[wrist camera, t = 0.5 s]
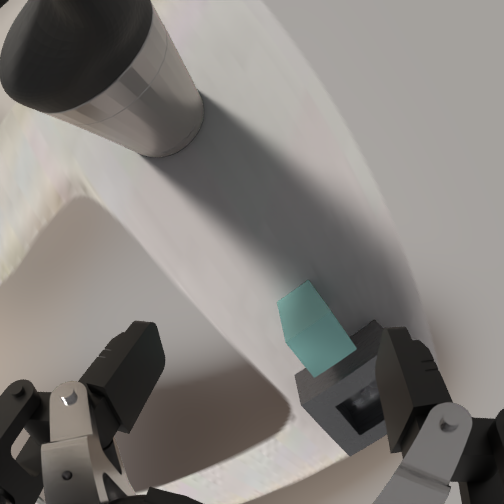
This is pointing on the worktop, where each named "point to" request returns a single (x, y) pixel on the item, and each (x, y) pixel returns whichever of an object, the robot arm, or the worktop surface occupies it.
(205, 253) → the worktop surface
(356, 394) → the socket block
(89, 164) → the worktop surface
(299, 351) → the teal peg
